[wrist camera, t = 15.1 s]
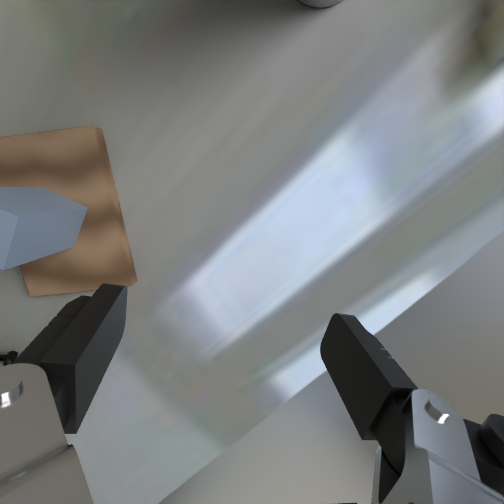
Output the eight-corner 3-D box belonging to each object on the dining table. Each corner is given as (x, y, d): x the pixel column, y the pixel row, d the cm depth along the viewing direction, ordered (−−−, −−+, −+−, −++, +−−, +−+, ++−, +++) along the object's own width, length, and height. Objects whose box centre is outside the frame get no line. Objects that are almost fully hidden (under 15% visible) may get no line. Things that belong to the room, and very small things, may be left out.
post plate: (-8, 143, 33) (-64, 133, 27) (101, 129, 32) (68, 116, 27) (41, 291, 38) (3, 310, 32) (137, 280, 37) (116, 298, 31)
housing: (31, 227, 33) (-59, 244, 24) (43, 187, 32) (-47, 187, 22) (73, 246, 34) (2, 270, 24) (87, 207, 33) (18, 216, 23)
